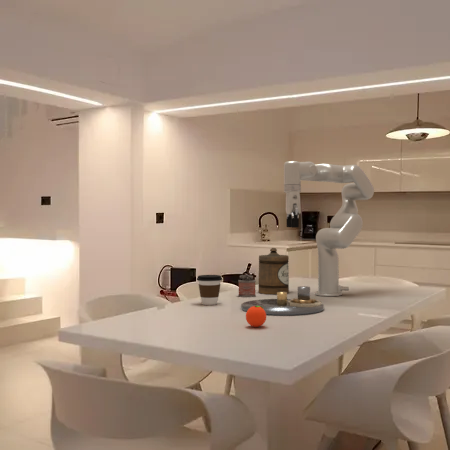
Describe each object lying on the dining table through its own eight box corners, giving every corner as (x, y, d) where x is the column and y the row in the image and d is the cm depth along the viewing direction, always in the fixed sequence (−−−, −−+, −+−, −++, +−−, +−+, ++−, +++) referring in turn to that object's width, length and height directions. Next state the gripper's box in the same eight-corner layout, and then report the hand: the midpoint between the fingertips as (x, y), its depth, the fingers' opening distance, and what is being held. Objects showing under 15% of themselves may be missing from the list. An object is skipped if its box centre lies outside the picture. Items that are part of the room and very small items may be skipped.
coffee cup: (219, 306, 226) (219, 277, 226) (193, 305, 228) (193, 277, 228) (224, 302, 237) (224, 274, 237) (200, 301, 239) (200, 274, 239)
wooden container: (288, 294, 259) (287, 248, 259) (257, 294, 262) (256, 248, 261) (289, 290, 274) (289, 247, 274) (260, 290, 276) (259, 247, 276)
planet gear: (312, 302, 226) (311, 285, 225) (318, 305, 216) (318, 288, 216) (290, 302, 225) (290, 285, 225) (295, 306, 215) (295, 288, 215)
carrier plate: (311, 301, 238) (311, 286, 238) (334, 314, 205) (334, 297, 205) (236, 303, 234) (236, 288, 234) (247, 316, 201) (247, 299, 201)
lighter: (255, 296, 256) (255, 274, 256) (255, 297, 252) (255, 275, 252) (238, 296, 256) (238, 274, 256) (238, 297, 253) (237, 275, 253)
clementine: (255, 323, 188) (255, 302, 188) (272, 325, 184) (272, 304, 184) (241, 327, 182) (241, 305, 182) (258, 329, 178) (258, 307, 178)
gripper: (305, 187, 236) (305, 227, 236) (296, 190, 253) (296, 227, 253) (288, 187, 235) (288, 227, 235) (280, 190, 252) (280, 227, 252)
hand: (292, 227), depth 244 cm, fingers open, 9 cm apart
